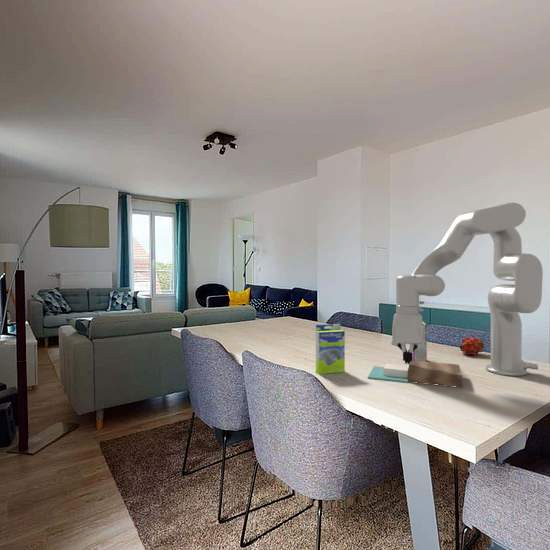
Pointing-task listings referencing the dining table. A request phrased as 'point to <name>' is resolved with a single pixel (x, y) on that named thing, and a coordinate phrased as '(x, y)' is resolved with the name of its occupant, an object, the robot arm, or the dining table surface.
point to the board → (435, 373)
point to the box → (330, 349)
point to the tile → (396, 370)
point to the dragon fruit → (471, 346)
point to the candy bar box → (421, 349)
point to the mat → (378, 374)
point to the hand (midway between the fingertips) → (407, 362)
